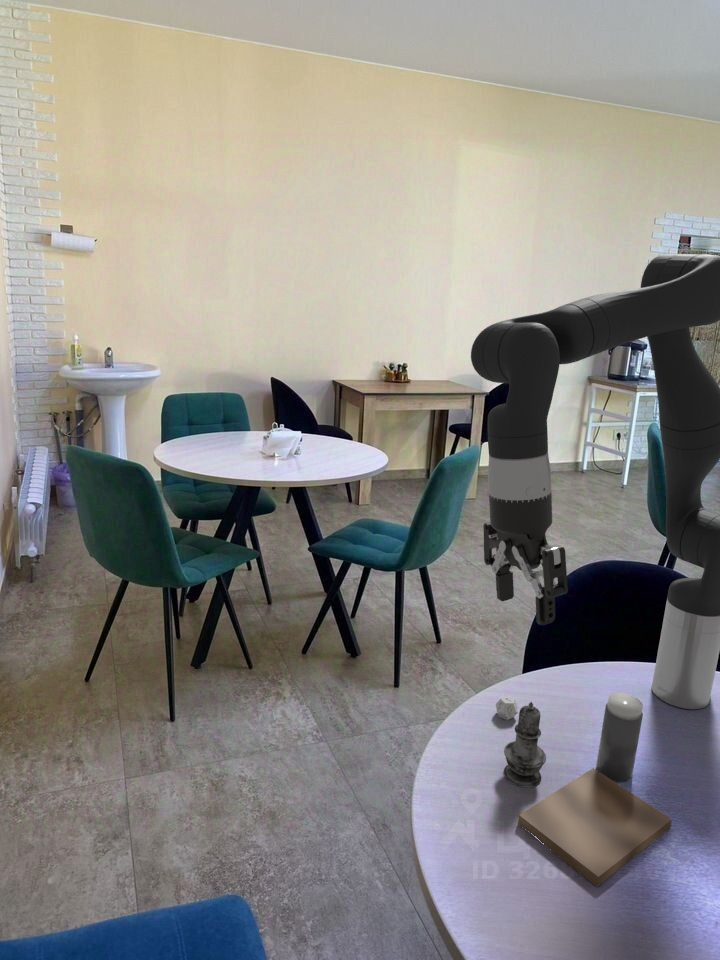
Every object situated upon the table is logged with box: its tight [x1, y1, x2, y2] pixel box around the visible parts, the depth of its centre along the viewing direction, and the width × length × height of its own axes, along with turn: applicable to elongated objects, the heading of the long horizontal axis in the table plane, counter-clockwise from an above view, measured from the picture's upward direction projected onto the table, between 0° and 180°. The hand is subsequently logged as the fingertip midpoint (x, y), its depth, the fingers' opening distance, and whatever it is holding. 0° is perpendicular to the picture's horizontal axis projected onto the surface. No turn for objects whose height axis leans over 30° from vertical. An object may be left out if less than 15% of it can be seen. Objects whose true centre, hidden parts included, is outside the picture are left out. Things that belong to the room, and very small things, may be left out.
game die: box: [495, 695, 519, 721], centre depth 115 cm, size 4×4×3 cm
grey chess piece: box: [503, 701, 547, 789], centre depth 100 cm, size 6×6×12 cm
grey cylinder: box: [595, 692, 644, 783], centre depth 102 cm, size 5×5×11 cm
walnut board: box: [517, 767, 673, 888], centre depth 92 cm, size 16×12×2 cm
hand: (524, 610), depth 91 cm, fingers open, 8 cm apart
